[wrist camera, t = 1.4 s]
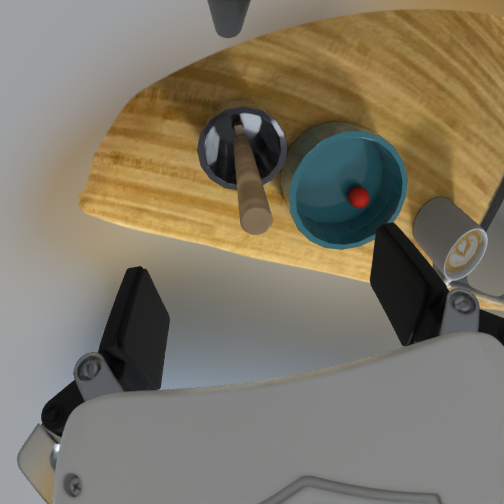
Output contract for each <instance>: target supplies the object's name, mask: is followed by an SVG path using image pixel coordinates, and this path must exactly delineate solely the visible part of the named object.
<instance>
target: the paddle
mask: <svg viewBox="0 0 504 504" xmlns="http://www.w3.org/2000/svg"><path fill="white" fill-rule="evenodd" d="M233 121H234V128H235V133H236V137H235V138H234V140H233V146H234V158H235V169H236V181H237V192H238V203H239V214H240V224H241V227H242V228H243V230H244V231H246V232H247V233H249V234H253V235H258V234H262V233H264V232H266V231H267V230H268V229H269V228H270V226H271V224H272V215H271V211H270V208H269V204H268V201H267V198H266V194H265V191H264V188H263V185H262V181H261V178H260V175H259V172H258V168H257V165H256V162H255V159H254V155H253V152H252V149H251V146H250V143H249V140H248V138H247V136H245V135H244V134H243V128H242V123H241V120H240V118H236V119H233Z"/></svg>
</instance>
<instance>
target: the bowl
mask: <svg viewBox="0 0 504 504" xmlns="http://www.w3.org/2000/svg"><path fill="white" fill-rule="evenodd" d="M280 178H281V188H282V194H283V197H284V199H285V202H286V204H287V207H288V209H289V211H290V214H291V216H292V218H293V220H294V222H295V224H296V226H297V228H298V230H299V231H300V232H301V233H302V234H303V235H304V236H306V237H307V238H308V239H309V240H310V241H311V242H313V243H316V244H318V245H320V246H322V247H325V248H330V249H340V250H343V249H349V248H354V247H359V246H362V245H364V244H366V243H368V242H370V241H372V240H374V239H375V234H376V229H377V228H379V226H380V225H381V224H385V223H391V222H394V220H395V219H396V217H397V216H398V215H399V213H400V210H401V208H402V205H403V203H404V200H405V197H406V191H407V175H406V170H405V165H404V162H403V160H402V159H401V157H400V155H399V154H398V152H397V150H396V149H395V147H393V146H392V145H391V144H390V143H388V142H387V141H386V140H385V139H383V138H382V137H381V136H379V135H377V134H375V133H373V132H371V131H369V130H367V129H365V128H363V127H361V126H357V125H355V124H351V123H347V122H328V123H324V124H320V125H317V126H315V127H313V128H311V129H309V130H308V131H306V132H305V133H303V134H302V135H301V136H300V137H299V138H298V139H297V140H296V141H295V142H294V143H293V144H292V146H291V147H290V149H289V150H288V152H287V154H286V158H285V161H284V164H283V167H282V169H281V177H280ZM358 186H359V187H363V188H365V189H366V190H367V192H368V193H369V202H368V204H367V205H366V206H365V207H363V208H355V207H353V206H352V205H351V204H350V203H349V200H348V194H349V192H350V190H351V189H352V188H354V187H358Z"/></svg>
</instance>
